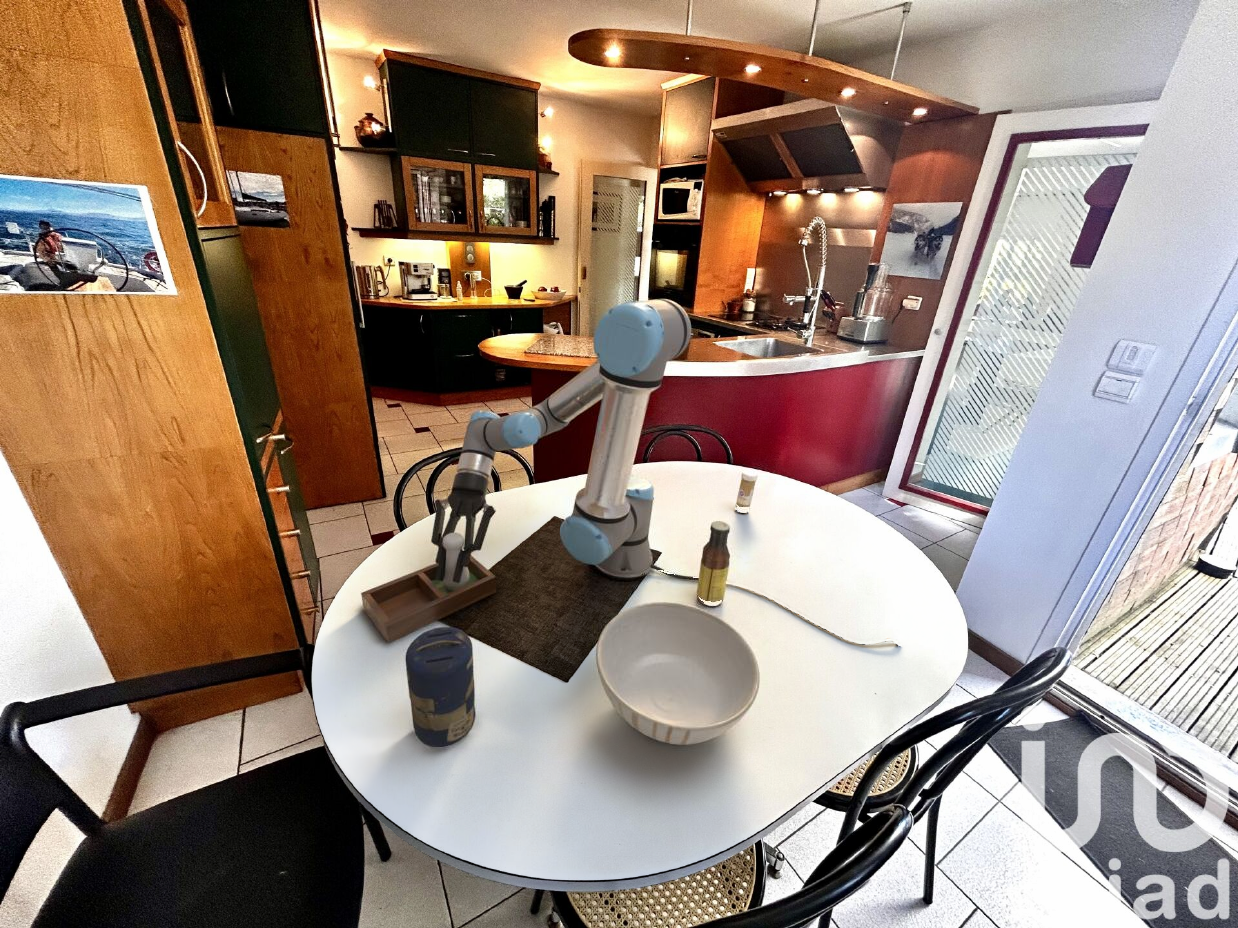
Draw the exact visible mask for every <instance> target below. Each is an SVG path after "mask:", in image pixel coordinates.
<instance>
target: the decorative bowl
mask: <svg viewBox="0 0 1238 928" xmlns="http://www.w3.org/2000/svg"><path fill="white" fill-rule="evenodd" d="M599 635H600V636H599V637H598V640H597V644H596V651H595V660H596V668H597V673H598V676H599V679H600V682H601V685H602V687H603V690H604V692H605V694H606V696H607V699H609V701H610V703H611V705H612V706H613V708H614V709H615V710H616V711H617V713H618V714H619V715H620V716H621V717H622V718H623V719H624V720H625V721H626V722H627V723H628V724H629V725H630V726H631V727H632V728H633V729H634V730H637V732H640V733H641V734H643V735H645V736H647V737H649V738H651V739H653V740H655V741H659V742H661V743H664V744H665V743H666V744H670V745H681V746H683V745H687V746H688V745H696V744H700V743H704V742H707V741H711V740H713V739H715V738H718V737H719V736H721V735H723V734H725V733H726V732H727V731H729V730H730V729H732V728H733V727H734V726H736V725H737V724H738V723H739V722H740V721H741V720H742V718H744V716H745V715H746V714H747V713H748V712H749V710H750V709H751V707H752V706H753V704H754V702H755V700H756V698H757V696H758V692H759V690H760V689H759V688H760V681H761V680H760V678H761V676H760V668H759V664H758V661H757V658H756V656H755V653H754V652H753V650H752V648H751V646H750V645H749V643H748V642H747V640H746V639H745V638H744V636H742V634H741V633H740V632H739V631H737V630H736V629H735V628H734V626H732V625H730V623H728V622H726V621H725V620H724V619H722V618H721V617H718V616H717V615H715V614H713V613H712V612H709V611H707V610H705V609H702V608H700V607H697V606H693V605H690V604H685V603H681V602H672V601H654V602H645V603H641V604H638V605H634V606H632V607H630V608H627V609H624V610H623V611H621V612H619V613H618V614H616V615H615V616H614V617H613V618H612V619H610V621H609V622H608V623H607V624H606V625H605V627H604V628H603V629H602V631H601V633H600V634H599Z"/></svg>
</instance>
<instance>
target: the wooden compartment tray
mask: <svg viewBox="0 0 1238 928" xmlns="http://www.w3.org/2000/svg"><path fill="white" fill-rule="evenodd" d="M438 566H439V564H438V563H436V562H435V563H433V564H430V565H428V566H426V567H423V568H420V569H418V570H415V571H413V572H410V573H408V574H405V575H403V576H400V577H397V578H395V579H392V580H390V581H387V582H384V583H381V584H380V585H377V586H374V587H372V588H370V589H367V590H365V591H363V592H360V595H361V602H362V607H363V610H364V612H365V613H366V615H367V616H368V617H369V619H370V620H371V621H372V623H373V624H374V626H375V627H376V629H377V630H378V631H379V633H380V634H381V635H382V637H383V638H384V639H385V641H386V643H388V644H391V643H393V642H396V641H397V640H400V639H401V638H403V637H405V636H408V635H410V634H412V633H414V632H416V631H418V630H420V629H422V628H424V627H427V626H428V625H429V626H430V625H431V624H433V623H435V622H437V621H439V620H441V619H443V618H445V617H448V616H449V615H451V614H454V613H455V612H458V611H460V610H462V609H464V608H466V607H468V606H471V605H472V604H474V603H477V602H479V601H481V600H483V599H485V598H487V597H489V596H491V595H493V594H495V593H497V580H496V579H497V578H496V575H494V574H493V573H492V572H491V571H490V570H489V569H487V568H486V567H485V566H484V565H483V564H482V563H481V562H480V561H479V560H478V559H476V558H475V557H474V556H473V555H472V554H471V556H470V560H469V565H468V571H469V580H468V582H467V584H466V586H465V587H463V588H461V589H459V590H456V591H450V590H448V589H447V588H446V586H445V585H444V583H443V582H442V581H440V580H437V579H435V578H436V574H437V570H438Z"/></svg>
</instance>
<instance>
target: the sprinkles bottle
mask: <svg viewBox="0 0 1238 928" xmlns="http://www.w3.org/2000/svg"><path fill="white" fill-rule="evenodd" d="M740 479H741V480H740V484H739V488H738V492H737V496H736V501H735V502H736V503H735V505H736V504H737V505H738V506H739V507H750V508H751V504H752V500H753V496H754V491H755V486H756V483H757V480H758V472H756V471H754V470H752V469H743V470H742V472H741V478H740Z"/></svg>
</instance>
